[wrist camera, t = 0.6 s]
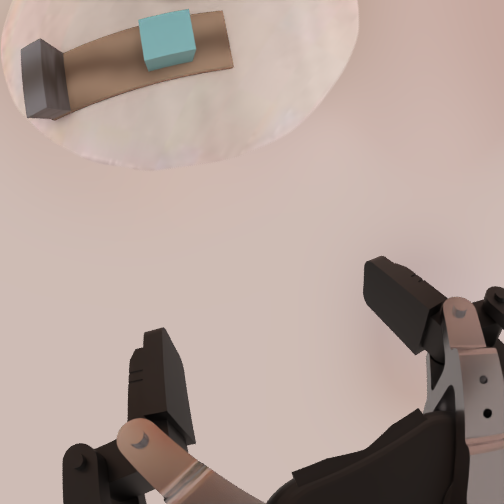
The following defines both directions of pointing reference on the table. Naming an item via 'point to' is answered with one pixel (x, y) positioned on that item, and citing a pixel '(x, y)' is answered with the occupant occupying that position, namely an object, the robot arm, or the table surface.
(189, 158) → the table surface
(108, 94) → the brown piece
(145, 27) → the teal block
